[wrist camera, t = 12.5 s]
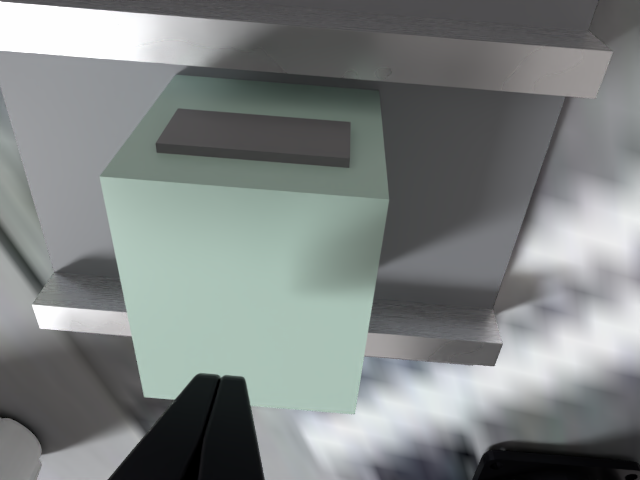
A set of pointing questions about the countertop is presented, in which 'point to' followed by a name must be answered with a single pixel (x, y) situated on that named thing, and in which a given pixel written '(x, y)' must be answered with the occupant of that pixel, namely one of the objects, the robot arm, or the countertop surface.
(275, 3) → the mounting board
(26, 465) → the photo printer
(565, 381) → the countertop surface
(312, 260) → the green module
